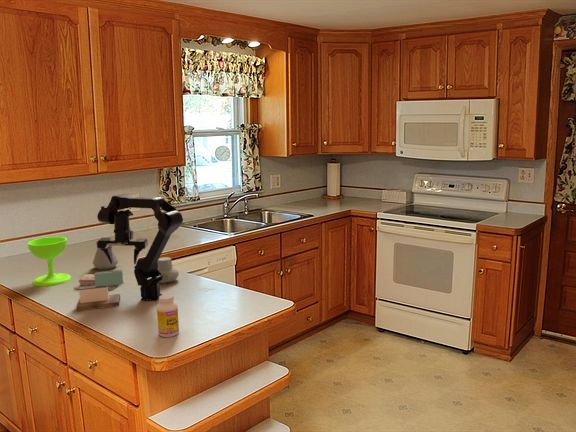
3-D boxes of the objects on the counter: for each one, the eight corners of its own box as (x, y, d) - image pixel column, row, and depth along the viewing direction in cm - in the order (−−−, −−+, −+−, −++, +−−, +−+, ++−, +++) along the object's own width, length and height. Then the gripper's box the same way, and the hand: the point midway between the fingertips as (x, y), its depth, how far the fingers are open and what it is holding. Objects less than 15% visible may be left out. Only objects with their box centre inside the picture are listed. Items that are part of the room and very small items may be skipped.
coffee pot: (90, 267, 261) (87, 236, 258) (114, 262, 267) (112, 232, 264) (102, 277, 243) (98, 245, 240) (127, 273, 249) (124, 240, 246)
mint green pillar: (123, 281, 212) (122, 269, 211) (123, 283, 210) (121, 271, 209) (96, 284, 210) (94, 272, 209) (95, 286, 207) (94, 274, 206)
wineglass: (54, 273, 252) (49, 235, 249) (79, 277, 245) (75, 238, 242) (24, 283, 238) (18, 243, 234) (50, 288, 231) (45, 246, 227)
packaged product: (123, 272, 235) (112, 279, 225) (124, 283, 236) (113, 291, 226) (84, 271, 238) (72, 279, 228) (85, 282, 239) (73, 290, 229)
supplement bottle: (166, 339, 175) (163, 301, 172) (154, 334, 179) (151, 297, 177) (183, 332, 180) (180, 295, 177) (171, 328, 184) (168, 291, 182)
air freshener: (181, 279, 238) (180, 256, 236) (173, 285, 230) (171, 262, 228) (159, 277, 240) (157, 255, 239) (149, 283, 233) (147, 261, 231)
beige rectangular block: (108, 297, 212) (107, 284, 211) (108, 300, 209) (106, 286, 208) (81, 300, 209) (79, 287, 208) (80, 303, 207) (78, 289, 206)
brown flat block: (120, 297, 216) (119, 293, 216) (119, 305, 207) (118, 302, 207) (80, 301, 213) (79, 298, 213) (76, 310, 203) (76, 306, 203)
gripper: (150, 221, 223) (151, 258, 227) (104, 220, 222) (105, 257, 226) (144, 228, 212) (145, 266, 216) (95, 227, 212) (97, 265, 215)
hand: (123, 263), depth 218 cm, fingers open, 9 cm apart
